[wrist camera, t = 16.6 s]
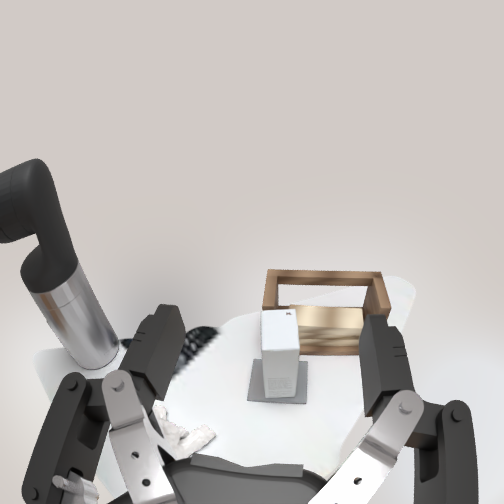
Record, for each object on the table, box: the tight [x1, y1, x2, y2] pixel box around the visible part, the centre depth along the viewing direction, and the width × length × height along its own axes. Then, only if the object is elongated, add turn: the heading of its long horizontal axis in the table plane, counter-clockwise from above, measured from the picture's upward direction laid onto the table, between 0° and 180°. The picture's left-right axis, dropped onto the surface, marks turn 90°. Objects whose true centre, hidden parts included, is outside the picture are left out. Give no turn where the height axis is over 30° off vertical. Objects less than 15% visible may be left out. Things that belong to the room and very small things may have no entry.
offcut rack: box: [262, 269, 391, 355], centre depth 42 cm, size 17×8×10 cm, turn 82°
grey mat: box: [247, 359, 308, 404], centre depth 39 cm, size 8×7×1 cm
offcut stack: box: [289, 305, 364, 346], centre depth 42 cm, size 12×5×5 cm, turn 82°
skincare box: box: [261, 309, 300, 398], centre depth 35 cm, size 6×4×12 cm
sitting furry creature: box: [154, 405, 216, 460], centre depth 27 cm, size 10×9×12 cm
